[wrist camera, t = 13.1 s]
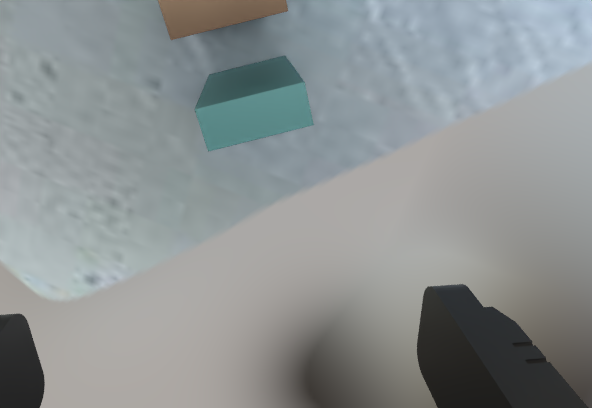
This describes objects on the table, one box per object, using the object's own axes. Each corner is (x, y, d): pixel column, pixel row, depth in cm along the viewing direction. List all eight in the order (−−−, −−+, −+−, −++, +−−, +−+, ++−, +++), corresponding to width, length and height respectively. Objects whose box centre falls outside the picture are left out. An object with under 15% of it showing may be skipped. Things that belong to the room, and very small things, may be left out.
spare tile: (209, 74, 29) (194, 109, 20) (285, 55, 29) (304, 81, 20) (218, 104, 30) (208, 151, 21) (292, 86, 30) (313, 124, 21)
